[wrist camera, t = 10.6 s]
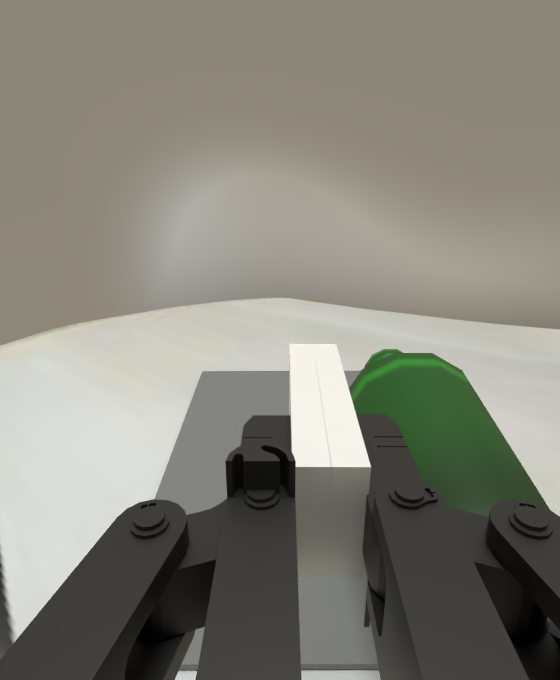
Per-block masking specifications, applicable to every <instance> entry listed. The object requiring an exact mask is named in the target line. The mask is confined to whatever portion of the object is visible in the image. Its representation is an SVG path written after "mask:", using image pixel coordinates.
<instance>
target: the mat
mask: <svg viewBox="0 0 560 680" xmlns="http://www.w3.org/2000/svg"><path fill="white" fill-rule="evenodd" d="M360 372H361V371H344V374H345V377H346V381H347V384H348V388H349V387H350V386H351V385H352V383H353V382H354V380H355V379H356V377H357V376H358V375H359V373H360ZM253 415H289V371H202V374H201V377H200V379H199V382H198V385H197V387H196V390H195V393H194V395H193V398H192V401H191V403H190V406H189V409H188V411H187V414H186V417H185V419H184V422H183V425H182V427H181V430H180V433H179V435H178V438H177V441H176V443H175V446H174V449H173V451H172V454H171V457H170V459H169V462H168V465H167V467H166V470H165V473H164V476H163V478H162V481H161V484H160V486H159V489H158V492H157V494H156V497H155V499H156V500H169V501H172V502H174V503H177V504H179V505H180V506H181V507H182V508H183V509H184V510H185V513H186V515H188V514H192V513H197V512H201V511H204V510H207V509H211V508H213V507H215V506H217V505H219V504H220V503H222V502H223V501H224V500H225V499H227V484H226V464H225V461H226V459H227V457H228V455H229V453H230V452H232V451H233V450H234V449H236V448H237V447H239V446H240V445H241V439H242V433H243V426H244V424H245V423H246V422H247V421H248V420H249V419H250V418H251V417H252V416H253ZM367 579H368V577H367V572H366V567H365V562H364V565H363V577H360V576H298V595H299V624H300V654H301V669H379V666H378V660H377V655H376V649H375V644H374V638H373V633H372V628H371V622H370V626H369V627H364V616H365V604H366V591H367ZM204 629H205V627H202V628H199V629H196V630H195V634H194V637H193V640H192V642H191V644H190V646H189V649H188V651H187V653H186V655H185V657H184V660H183V662H182V664H181V666H180V668H179V670H197V669H198V664H199V658H200V652H201V646H202V640H203V634H204Z"/></svg>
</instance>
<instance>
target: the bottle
mask: <svg viewBox="0 0 560 680" xmlns="http://www.w3.org/2000/svg"><path fill="white" fill-rule="evenodd" d="M349 391H350V395H351V398H352V402H353V405H354V409H355V412H356V414H386V415H387V416H389V417H390V418H391V419H392V420H393V421H395V422H396V423H397V424H398V425H399V427H400V429H401V432H402V434H403V438H404V439H405V441H406V443H407V445H408V448H409V450H410V452H411V455H412V457H413V459H414V461H415V464H416V466H417V468H418V471H419V473H420V475H421V477H422V480H423V481H424V482H427V483H428V484H430V485H431V486H433V487H434V488H436V489H437V490H438V491H439V493H440V494H441V495H442V497H443V498H444V500H445V502H446V504H447V505H449V506H451V507H453V508H456V509H459V510H463V511H466V512H471V513H475V514H480V515H484V516H489V514H490V510H491V509H492V507H493V506H494V505H495V503H498V502H501V501H503V500H523V501H528V502H533V503H535V504H538V505H540V506H542V507H545V508H547V509H549V507H548V506H547V504H546V503H545V501H544V500H543V498H542V496H541V495H540V493H539V492H538V490H537V488H536V487H535V485H534V484H533V482H532V481H531V479H530V477H529V476H528V474H527V473H526V471H525V469H524V468H523V466H522V465H521V463H520V462H519V460H518V458H517V457H516V455H515V454H514V452H513V451H512V449H511V447H510V446H509V444H508V443H507V441H506V439H505V438H504V436H503V435H502V433H501V432H500V430H499V428H498V427H497V425H496V424H495V422H494V420H493V419H492V417H491V416H490V414H489V413H488V411H487V409H486V408H485V406H484V405H483V403H482V401H481V400H480V398H479V397H478V395H477V394H476V392H475V390H474V389H473V387H472V386H471V384H470V382H469V381H468V379H467V378H466V376H465V375H464V373H463V371H462V370H460V369H459V368H457V367H455V366H453V365H452V364H450V363H448V362H446V361H445V360H443V359H441V358H439V357H438V356H436V355H434V354H432V353H402V352H401V351H399V350H397V349H383V350H381V351H379V352H377V353H375V354H373V355H372V356H371V358H370V359H369V360H368V362H367V363H366V365H365V368H364V369H362V370H361V372H360V373H359V375H358V376H357V377H356V379H355V380H354V382H353V383H352V385H351V386H350V387H349ZM549 510H550V509H549Z"/></svg>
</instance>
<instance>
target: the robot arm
mask: <svg viewBox="0 0 560 680" xmlns="http://www.w3.org/2000/svg"><path fill="white" fill-rule="evenodd" d="M225 464H226V484H227V499H225V500H224V501H223V502H222V503H220V504H219V505H217V506H215V507H213V508H211V509H207V510H204V511H201V512H197V513H192V514H188V515H186V513H185V510H184V509H183V508H182V507H181V506H180V505H179V504H177V503H174V502H172V501H169V500H156V499H154V500H149V501H144V502H140V503H138V504H136V505H134V506H132V507H130V508H128V509H126V510H125V511H124V512H123V513H122V514H121V515H120V516H118V517H117V518H116V520H115V521H114V522H113V523H112V525H111V526H110V527H109V528H108V529H107V531H106V532H105V533H104V534H103V535H102V537H101V538H100V539H99V540H98V542H97V543H96V544H95V545H94V546H93V548H92V549H91V550H90V551H89V552H88V554H87V555H86V556H85V557H84V559H83V560H82V561H81V562H80V563H79V565H78V566H77V567H76V568H75V569H74V571H73V572H72V573H71V574H70V576H69V577H68V578H67V579H66V580H65V582H64V583H63V584H62V585H61V586H60V588H59V589H58V590H57V591H56V593H55V594H54V595H53V596H52V597H51V599H50V600H49V601H48V602H47V604H46V605H45V606H44V607H43V608H42V610H41V611H40V612H39V613H38V614H37V616H36V617H35V618H34V619H33V621H32V622H31V623H30V624H29V625H28V627H27V628H26V629H25V630H24V631H23V633H22V634H21V635H20V636H19V638H18V639H17V640H16V641H15V642H14V644H13V645H12V646H11V647H10V648H9V650H8V651H7V652H6V653H5V655H4V656H3V657H2V658H1V659H0V680H175V677H176V675H177V673H178V671H179V668H180V666H181V664H182V662H183V660H184V657H185V655H186V653H187V651H188V649H189V646H190V644H191V642H192V640H193V637H194V634H195V630H196V629H199V628H202V627H205V629H204V634H203V640H202V646H201V652H200V658H199V664H198V669H197V675H196V680H301V654H300V624H299V595H298V576H360V577H363V565H364V562H365V567H366V572H367V577H368V579H367V591H366V604H365V616H364V627H369V626H370V622H371V628H372V633H373V638H374V644H375V649H376V655H377V660H378V666H379V671H380V677H381V680H560V517H559V516H558V515H556V514H555V513H553V512H552V511H550V510H549V509H547V508H545V507H542V506H540V505H538V504H535V503H533V502H528V501H523V500H503V501H501V502H498V503H495V505H494V506H493V507H492V509H491V510H490V514H489V516H484V515H480V514H475V513H471V512H466V511H463V510H459V509H456V508H453V507H451V506H449V505H447V504H446V502H445V500H444V498H443V497H442V495H441V494H440V493H439V491H438V490H437V489H436V488H434V487H433V486H431V485H430V484H428V483H427V482H424V481H423V480H422V477H421V475H420V473H419V471H418V468H417V466H416V464H415V461H414V459H413V457H412V455H411V452H410V450H409V448H408V445H407V443H406V441H405V439H404V438H403V434H402V432H401V429H400V427H399V425H398V424H397V423H396V422H395V421H393V420H392V419H391V418H390V417H389V416H387V415H386V414H356V412H355V409H354V405H353V402H352V398H351V395H350V391H349V388H348V384H347V381H346V377H345V374H344V370H343V367H342V363H341V360H340V356H339V353H338V349H337V346H336V344H289V415H253V416H252V417H251V418H250V419H249V420H248V421H247V422H246V423H245V424H244V426H243V433H242V439H241V445H240V446H239V447H237V448H236V449H234V450H233V451H232V452H230V453H229V455H228V457H227V459H226V461H225Z"/></svg>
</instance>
